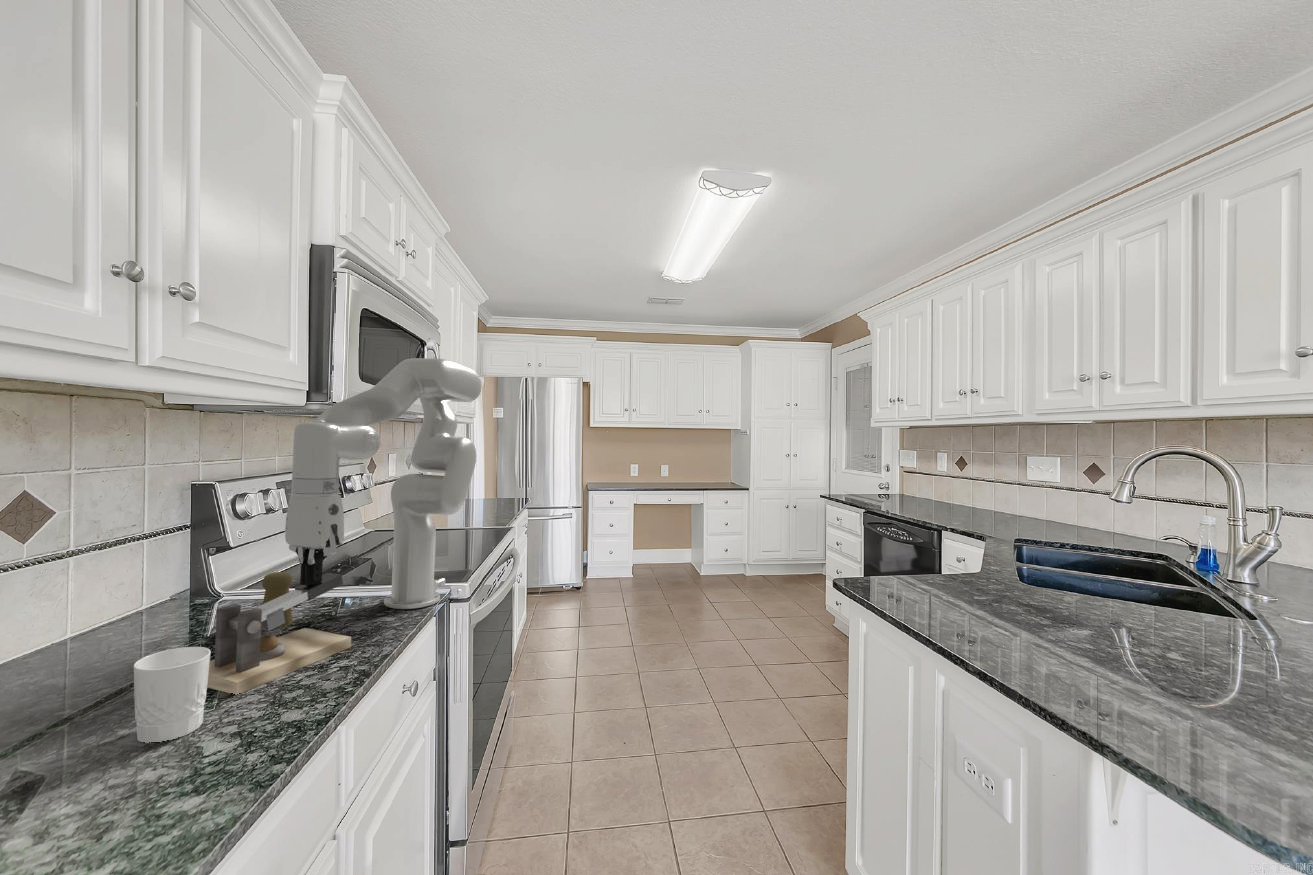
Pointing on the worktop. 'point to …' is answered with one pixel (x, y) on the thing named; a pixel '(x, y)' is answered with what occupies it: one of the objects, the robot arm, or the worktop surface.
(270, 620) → the lever
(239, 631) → the nutcracker base
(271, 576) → the cork
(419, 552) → the robot arm
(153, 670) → the white cup
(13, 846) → the worktop surface
